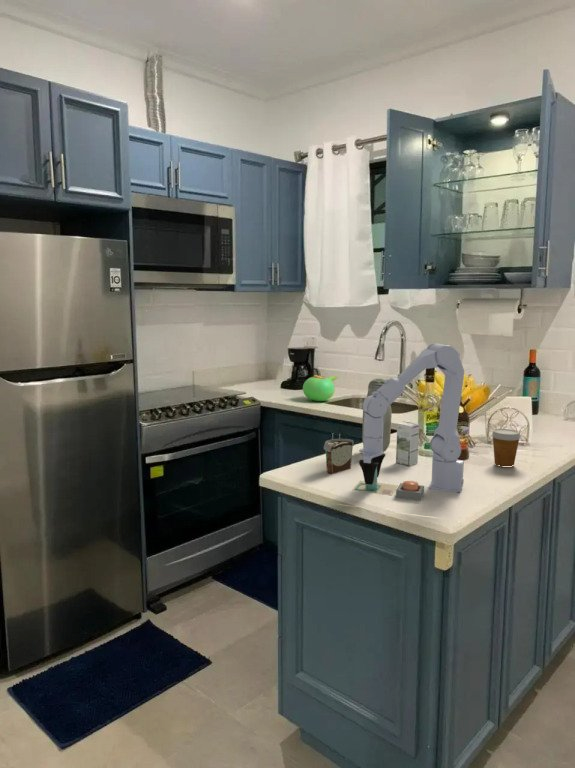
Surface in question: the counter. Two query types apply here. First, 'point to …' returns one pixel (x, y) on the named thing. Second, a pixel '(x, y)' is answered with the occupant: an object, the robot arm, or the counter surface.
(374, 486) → the teal rounded cylinder
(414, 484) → the button
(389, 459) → the counter surface
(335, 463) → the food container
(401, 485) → the button housing
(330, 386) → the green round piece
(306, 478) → the counter surface
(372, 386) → the grey bottle
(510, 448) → the disposable coffee cup
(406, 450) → the syrup box
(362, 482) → the card sheet
